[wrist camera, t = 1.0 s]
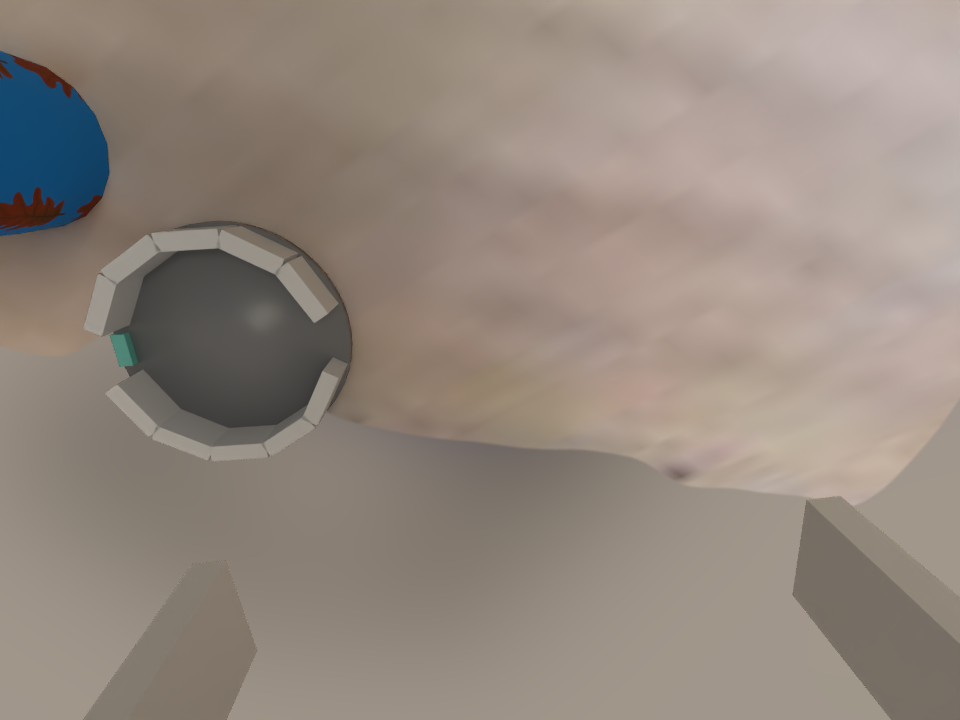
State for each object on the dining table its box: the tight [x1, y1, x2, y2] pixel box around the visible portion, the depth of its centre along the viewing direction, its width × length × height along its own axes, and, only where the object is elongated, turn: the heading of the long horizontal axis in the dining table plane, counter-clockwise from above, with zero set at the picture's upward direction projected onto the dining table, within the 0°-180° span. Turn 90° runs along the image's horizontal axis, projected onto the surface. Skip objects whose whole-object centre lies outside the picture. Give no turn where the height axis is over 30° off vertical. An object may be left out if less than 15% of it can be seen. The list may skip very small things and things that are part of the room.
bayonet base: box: [83, 221, 352, 461], centre depth 36 cm, size 17×17×4 cm
